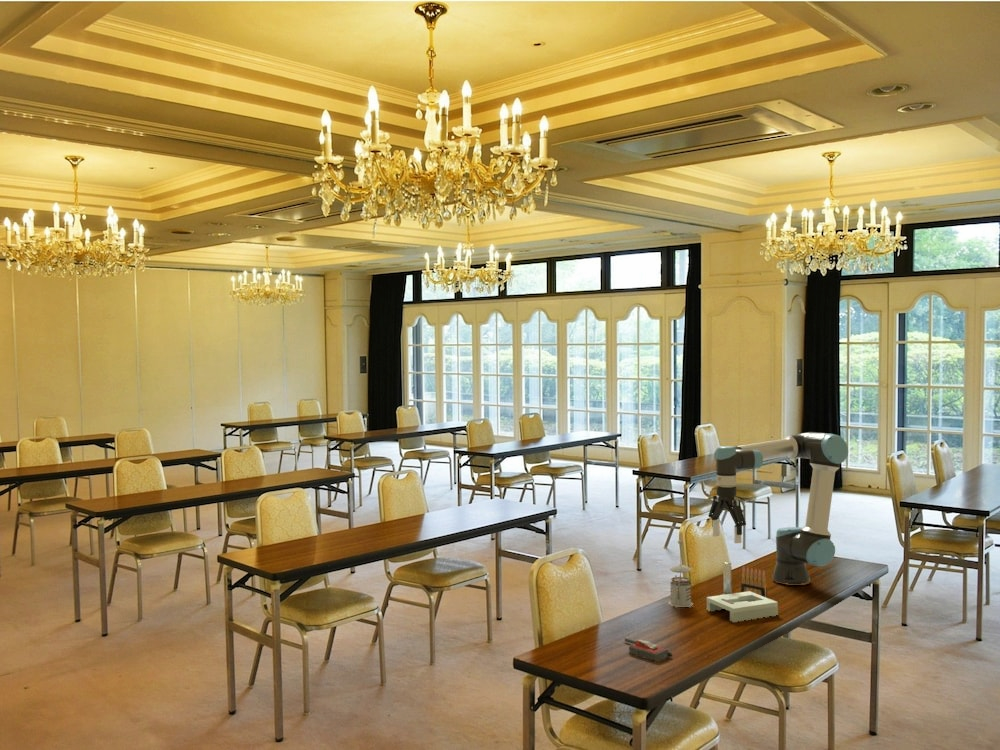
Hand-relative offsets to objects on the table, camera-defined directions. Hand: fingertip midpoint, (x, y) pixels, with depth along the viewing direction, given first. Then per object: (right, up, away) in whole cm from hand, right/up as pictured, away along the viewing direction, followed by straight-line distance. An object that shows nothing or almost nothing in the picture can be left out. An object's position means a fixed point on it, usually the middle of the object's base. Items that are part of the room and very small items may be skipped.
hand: (726, 539), depth 321 cm
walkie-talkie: (-43, -26, -56) cm, 75 cm away
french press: (-19, -25, -4) cm, 32 cm away
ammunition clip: (+12, -24, +4) cm, 27 cm away
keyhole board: (+1, -24, -15) cm, 29 cm away
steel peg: (0, -24, 0) cm, 24 cm away
